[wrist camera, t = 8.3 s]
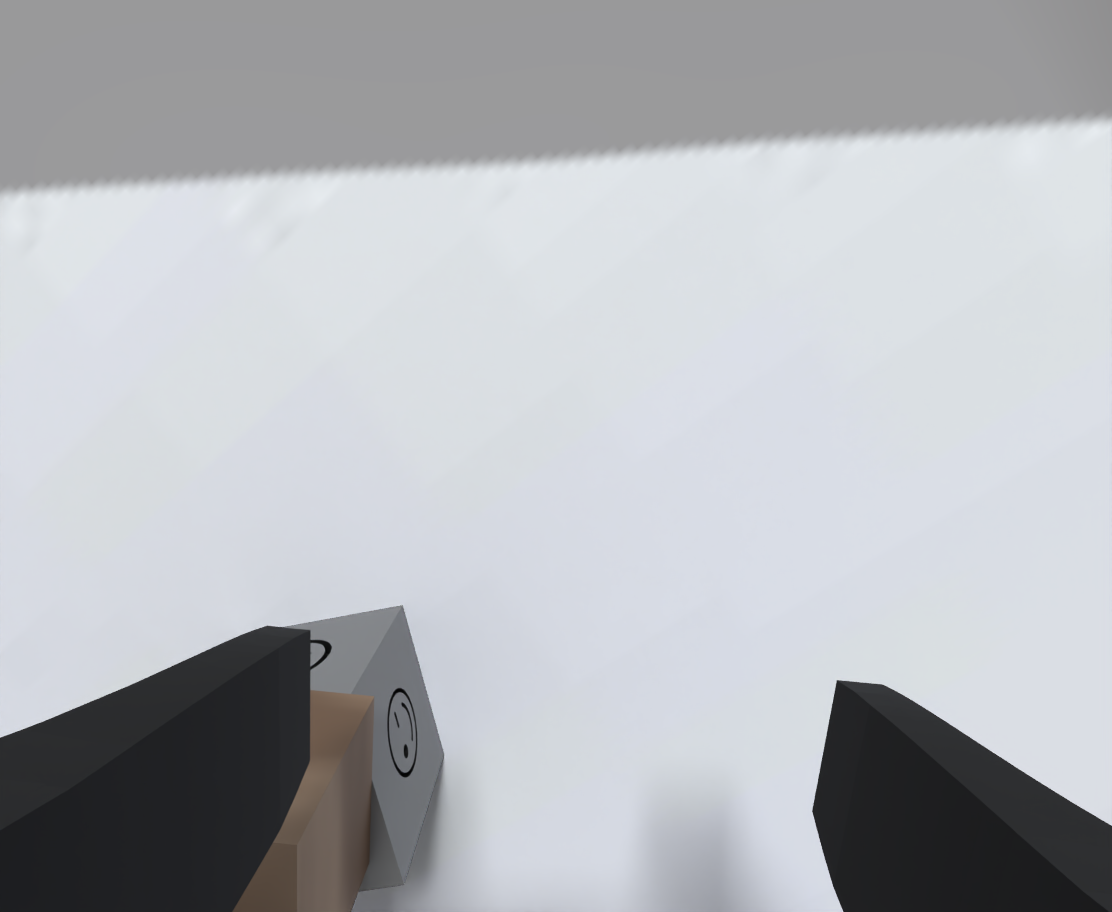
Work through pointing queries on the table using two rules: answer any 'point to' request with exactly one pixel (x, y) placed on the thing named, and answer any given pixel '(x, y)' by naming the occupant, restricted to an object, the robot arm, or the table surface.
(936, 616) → the table surface
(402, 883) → the dice cube
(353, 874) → the walnut block
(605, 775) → the table surface
